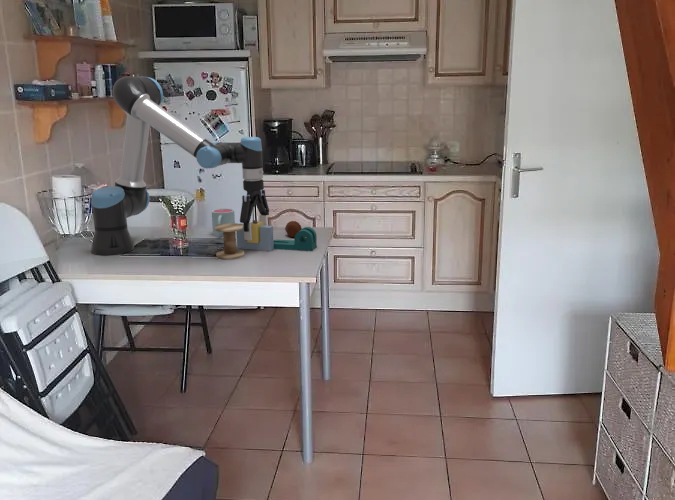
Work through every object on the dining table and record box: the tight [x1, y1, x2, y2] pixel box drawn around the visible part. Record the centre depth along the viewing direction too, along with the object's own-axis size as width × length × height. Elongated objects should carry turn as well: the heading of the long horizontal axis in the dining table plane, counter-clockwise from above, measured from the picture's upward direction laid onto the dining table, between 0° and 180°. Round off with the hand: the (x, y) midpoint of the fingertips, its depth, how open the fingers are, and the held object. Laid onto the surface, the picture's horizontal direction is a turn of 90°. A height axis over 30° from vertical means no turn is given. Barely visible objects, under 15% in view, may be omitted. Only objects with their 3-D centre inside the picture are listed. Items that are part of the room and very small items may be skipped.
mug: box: [211, 208, 236, 238], centre depth 259 cm, size 14×9×10 cm
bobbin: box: [215, 222, 245, 260], centre depth 228 cm, size 10×10×11 cm
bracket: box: [273, 226, 318, 252], centre depth 239 cm, size 18×7×8 cm, turn 77°
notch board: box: [236, 223, 275, 252], centre depth 238 cm, size 14×3×9 cm, turn 69°
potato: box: [284, 220, 303, 238], centre depth 258 cm, size 7×9×6 cm
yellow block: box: [248, 219, 263, 243], centre depth 237 cm, size 4×6×8 cm
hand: (256, 235), depth 239 cm, fingers open, 12 cm apart
